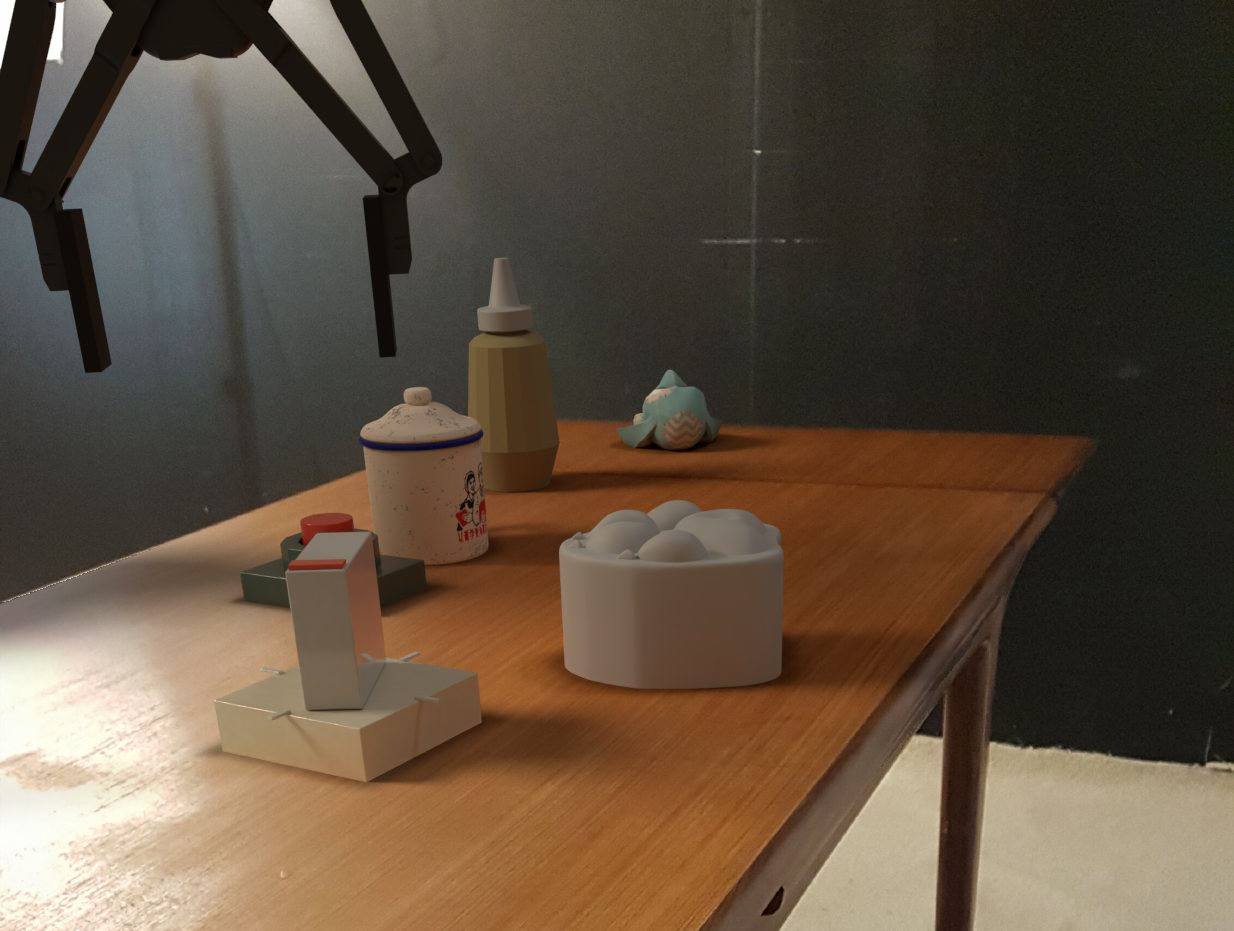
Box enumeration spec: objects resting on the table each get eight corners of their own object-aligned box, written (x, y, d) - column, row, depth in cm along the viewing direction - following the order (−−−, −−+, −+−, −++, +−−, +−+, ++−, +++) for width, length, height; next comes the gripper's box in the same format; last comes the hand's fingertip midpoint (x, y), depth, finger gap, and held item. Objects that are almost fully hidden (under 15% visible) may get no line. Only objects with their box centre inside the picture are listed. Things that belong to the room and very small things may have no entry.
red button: (292, 548, 108) (288, 521, 107) (327, 536, 111) (323, 510, 110) (332, 553, 106) (329, 526, 105) (366, 541, 109) (363, 515, 108)
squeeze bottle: (508, 501, 134) (492, 264, 125) (452, 488, 140) (432, 260, 130) (580, 486, 139) (570, 255, 129) (523, 474, 144) (509, 251, 134)
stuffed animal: (706, 370, 157) (738, 361, 146) (710, 448, 160) (741, 445, 149) (601, 378, 155) (624, 369, 144) (606, 456, 158) (630, 453, 147)
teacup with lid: (485, 567, 116) (472, 396, 110) (363, 570, 116) (343, 400, 110) (501, 529, 126) (489, 371, 120) (388, 532, 126) (371, 374, 120)
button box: (244, 603, 110) (234, 544, 108) (320, 576, 116) (312, 519, 113) (354, 621, 105) (347, 559, 103) (427, 591, 111) (422, 533, 109)
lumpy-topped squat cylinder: (783, 690, 90) (786, 533, 86) (557, 694, 91) (549, 539, 86) (776, 636, 99) (779, 492, 94) (571, 641, 100) (564, 498, 95)
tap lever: (333, 662, 88) (315, 527, 84) (386, 661, 87) (371, 526, 83) (304, 710, 81) (283, 566, 77) (362, 709, 81) (344, 564, 77)
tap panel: (193, 757, 84) (182, 700, 83) (341, 691, 93) (334, 638, 91) (370, 797, 79) (362, 736, 77) (510, 722, 87) (506, 666, 86)
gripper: (-193, -226, 59) (-45, 387, 71) (470, -245, 61) (510, 357, 72) (-132, -194, 65) (-5, 363, 77) (467, -213, 67) (504, 337, 78)
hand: (244, 361), depth 74 cm, fingers open, 13 cm apart
